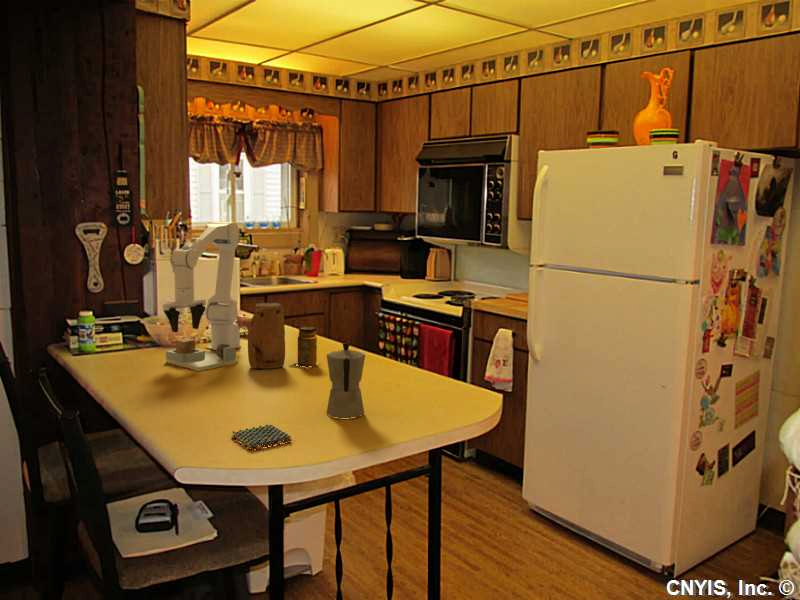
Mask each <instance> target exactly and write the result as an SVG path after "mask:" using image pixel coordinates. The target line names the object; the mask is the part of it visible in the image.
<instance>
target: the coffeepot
mask: <svg viewBox="0 0 800 600" xmlns="http://www.w3.org/2000/svg"><path fill="white" fill-rule="evenodd" d="M342 347H343V349H341V350H339V349H338V350H335V351H331V352H329V353H326V360H327V367H328V374H329V380H330V382H331V388H330V391H329V397H328V402H327V403H328V404H327V407H326V414H327V415H328V414H329V415H330V416H332V417H338V418H351V417H359V416H360V415H362V414H363V415H364V413H365V409H364V404H363V397H362V391H361V388H360V382H361V381H362V377H363V373H364V371H363V370H364V365H365V364H364V363H365V360H366V354H365V353H362V352H360V351H357V350H352V349H349V348H350V343H349V342H343V343H342ZM363 415H362V416H363ZM359 418H360V417H359Z"/></svg>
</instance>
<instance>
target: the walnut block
mask: <svg viewBox="0 0 800 600" xmlns="http://www.w3.org/2000/svg"><path fill="white" fill-rule="evenodd" d="M195 348H196V339H191V338H187V337H185V338H180V339H179V338H178V339H175V349H176V352H177V353H181V354H188V353H193V352H195Z"/></svg>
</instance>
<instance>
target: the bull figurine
mask: <svg viewBox="0 0 800 600" xmlns="http://www.w3.org/2000/svg"><path fill="white" fill-rule="evenodd" d="M242 313H243V312H241V311H239V312H238V314H237V318H236V323H237V324H238V326H239V330H240V331H241V329H242V330H243V331H244V330H245V331H248V327H249V325H250V323H251V320H252V317H247V316H246V314H245V313H243V314H242ZM246 337H247V338H248V335H247V336H246Z"/></svg>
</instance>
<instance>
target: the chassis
mask: <svg viewBox="0 0 800 600" xmlns="http://www.w3.org/2000/svg"><path fill="white" fill-rule="evenodd" d="M165 362H166V363H167V362H168V363H167V364H171V363H172V365H174V364H176V365H175V366H178V365H179V367H182V366H183V367H182V368H185V367H186V369H189V368H190V369H191V370H193V369H194V370H193V371H198V372H201V371H202V370H203V371H207V370H211V369H210V368H212V369H215V368H221V367H225V366H229V365H233V364H234V365H235V364H238V363H239V358H237V348H236V347H235V346H231V347H226V348H223V358H219V357H218V356H217V354H216V352H215V353H214V352H212V351H211V352H210V351H206V350H204V349H200V348H196V347H195V352H193V353H188V354H181V353H177V352H176V348H175V349H169V350H165ZM220 366H221V367H220ZM190 369H189V370H190ZM206 369H207V370H206ZM203 371H202V372H203Z"/></svg>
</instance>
